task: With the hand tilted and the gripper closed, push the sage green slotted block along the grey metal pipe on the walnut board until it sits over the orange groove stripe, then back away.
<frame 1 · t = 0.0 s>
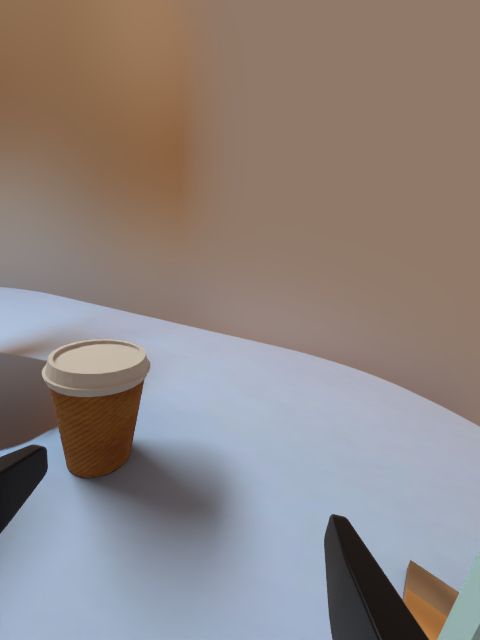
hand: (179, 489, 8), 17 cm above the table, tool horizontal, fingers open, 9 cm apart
disposable coffee cup: (100, 456, 30), on the table
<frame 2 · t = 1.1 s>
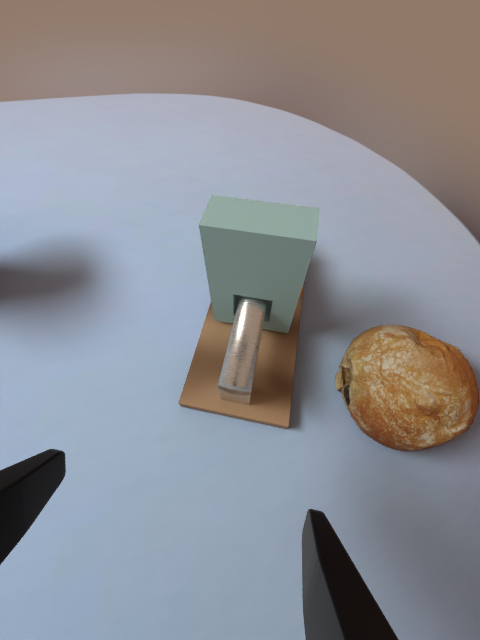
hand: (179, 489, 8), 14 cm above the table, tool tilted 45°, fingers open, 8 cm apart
sage green slotted block: (256, 275, 21), point 7 cm above the table, slide at 0.0 cm
grey metal pipe: (255, 297, 25), on the walnut board, point 3 cm above the table
bread roll: (392, 389, 24), on the table
walnut board: (250, 334, 26), on the table
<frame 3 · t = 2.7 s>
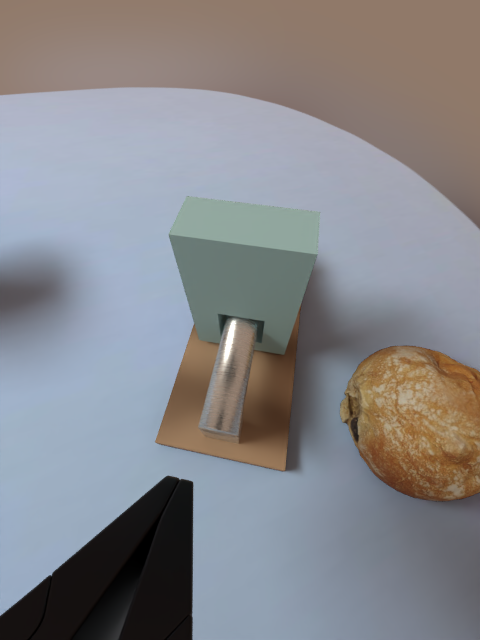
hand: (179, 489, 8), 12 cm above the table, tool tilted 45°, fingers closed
sage green slotted block: (245, 291, 18), point 7 cm above the table, slide at 0.0 cm
grey metal pipe: (245, 314, 21), on the walnut board, point 3 cm above the table
bread roll: (406, 418, 21), on the table
walnut board: (240, 355, 23), on the table
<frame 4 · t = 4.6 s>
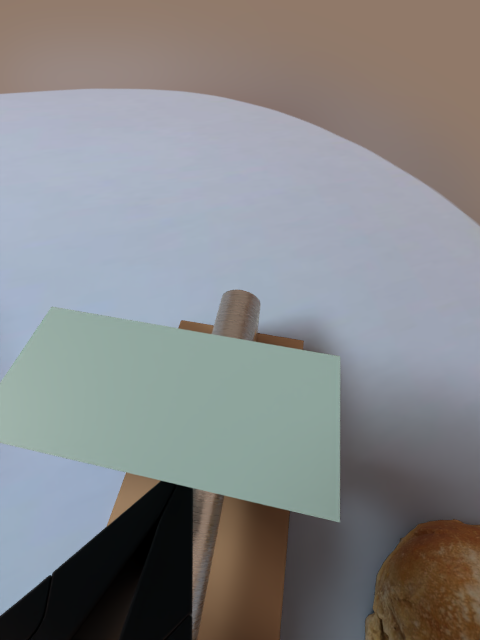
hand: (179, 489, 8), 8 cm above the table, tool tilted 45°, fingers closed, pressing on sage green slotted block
sage green slotted block: (200, 434, 10), point 7 cm above the table, slide at 1.5 cm, touching gripper
grey metal pipe: (205, 467, 13), on the walnut board, point 3 cm above the table
walnut board: (202, 511, 15), on the table
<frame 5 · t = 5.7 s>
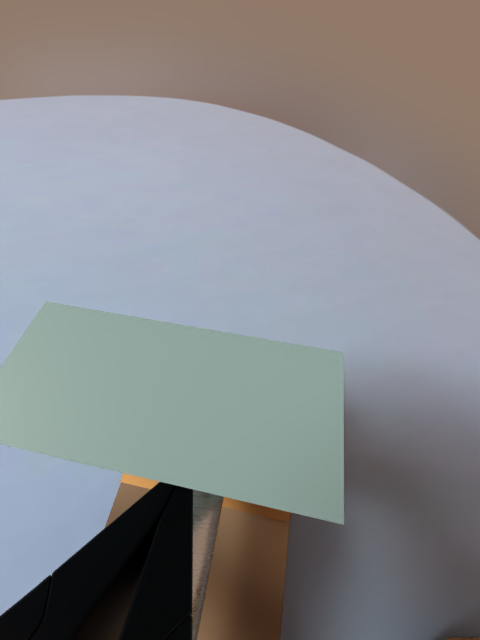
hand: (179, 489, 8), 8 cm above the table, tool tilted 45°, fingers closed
sage green slotted block: (200, 433, 10), point 7 cm above the table, slide at 5.7 cm
grey metal pipe: (177, 586, 11), on the walnut board, point 3 cm above the table
walnut board: (178, 620, 12), on the table
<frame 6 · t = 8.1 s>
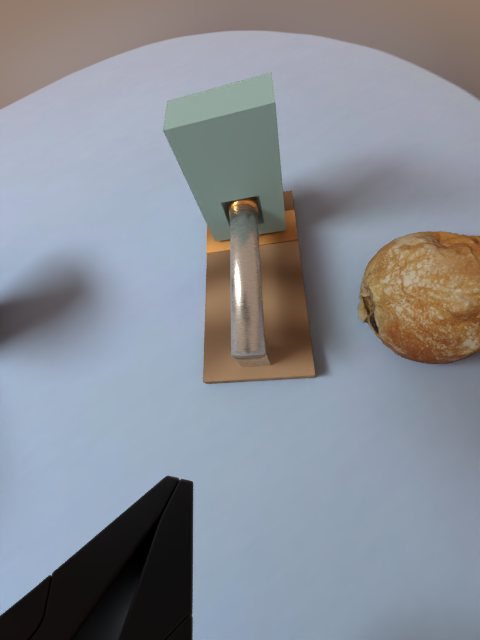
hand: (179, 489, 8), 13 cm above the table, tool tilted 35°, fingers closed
sage green slotted block: (236, 176, 22), point 7 cm above the table, slide at 5.7 cm
grey metal pipe: (247, 256, 23), on the walnut board, point 3 cm above the table
bread roll: (422, 303, 22), on the table
walnut board: (254, 294, 25), on the table
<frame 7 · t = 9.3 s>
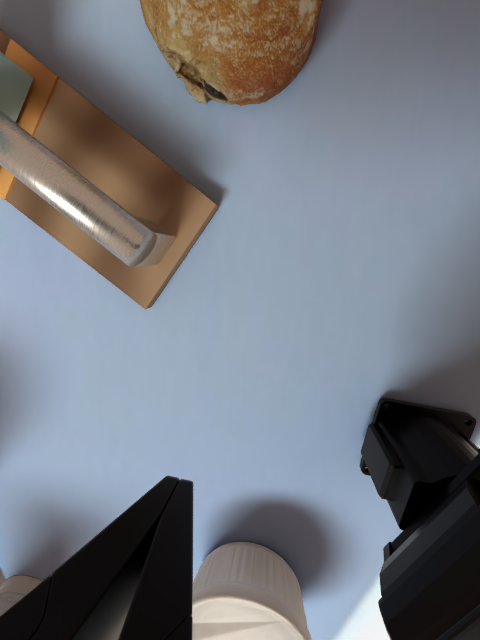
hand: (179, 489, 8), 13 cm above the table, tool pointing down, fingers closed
ramekin: (249, 573, 26), on the table
grey metal pipe: (31, 155, 16), on the walnut board, point 3 cm above the table
black and white mug: (50, 617, 32), on the table
bread roll: (239, 14, 16), on the table
walnut board: (95, 190, 19), on the table
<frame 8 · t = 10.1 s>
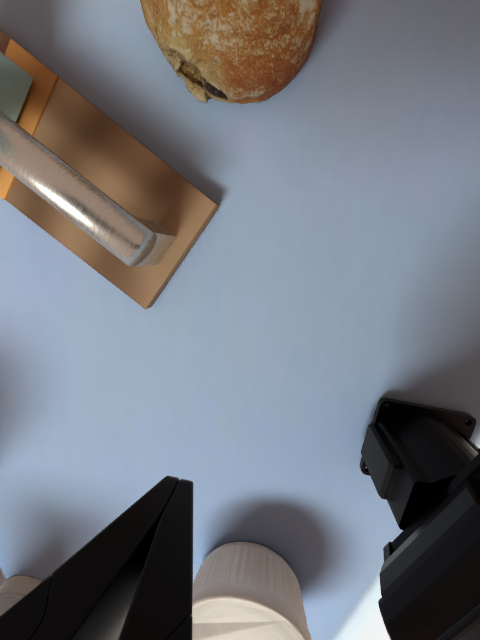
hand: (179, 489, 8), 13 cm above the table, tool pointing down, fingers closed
ramekin: (249, 573, 26), on the table
grey metal pipe: (31, 155, 16), on the walnut board, point 3 cm above the table
black and white mug: (50, 617, 32), on the table
bread roll: (239, 12, 16), on the table
walnut board: (95, 190, 19), on the table
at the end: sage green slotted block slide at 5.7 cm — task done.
